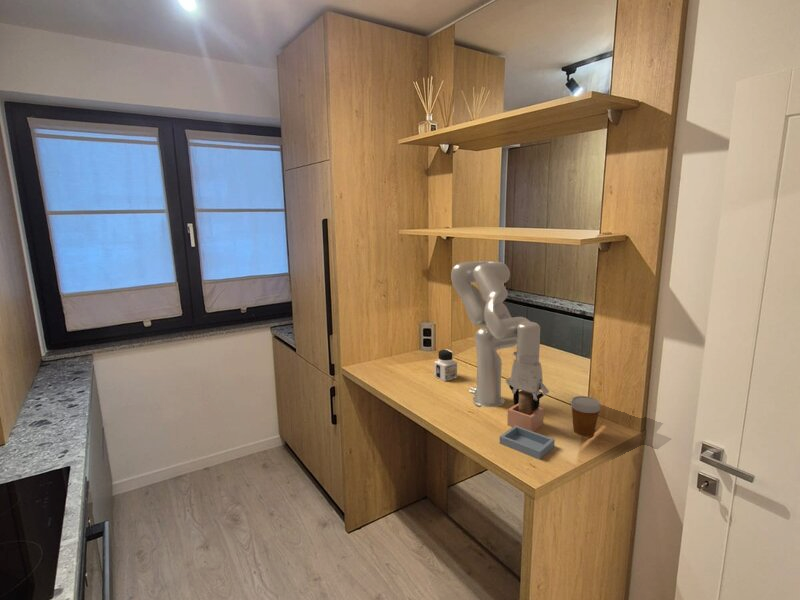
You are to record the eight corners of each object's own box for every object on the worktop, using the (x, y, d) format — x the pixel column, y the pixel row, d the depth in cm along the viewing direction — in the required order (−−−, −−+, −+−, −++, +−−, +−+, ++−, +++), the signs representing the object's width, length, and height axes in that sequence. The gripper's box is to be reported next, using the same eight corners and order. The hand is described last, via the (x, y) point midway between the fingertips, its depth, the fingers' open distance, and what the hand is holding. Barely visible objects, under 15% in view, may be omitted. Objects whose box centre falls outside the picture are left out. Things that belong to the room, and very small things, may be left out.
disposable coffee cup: (588, 444, 141) (591, 410, 138) (563, 432, 148) (564, 400, 146) (604, 435, 146) (606, 402, 144) (578, 424, 154) (580, 393, 151)
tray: (499, 446, 141) (499, 436, 140) (515, 434, 148) (515, 425, 147) (539, 462, 131) (539, 452, 130) (554, 449, 138) (554, 439, 137)
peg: (515, 425, 152) (516, 393, 150) (522, 420, 156) (523, 389, 154) (528, 429, 149) (529, 397, 147) (535, 424, 152) (536, 392, 150)
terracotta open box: (507, 427, 153) (507, 409, 151) (520, 418, 159) (520, 401, 157) (530, 436, 146) (531, 417, 145) (543, 426, 153) (543, 408, 151)
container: (445, 381, 196) (445, 354, 193) (434, 376, 202) (433, 350, 199) (457, 377, 200) (457, 351, 198) (446, 373, 206) (446, 347, 204)
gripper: (499, 355, 151) (498, 402, 154) (546, 366, 139) (544, 417, 142) (510, 350, 156) (509, 396, 160) (556, 360, 144) (554, 410, 148)
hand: (525, 406), depth 151 cm, fingers open, 6 cm apart
